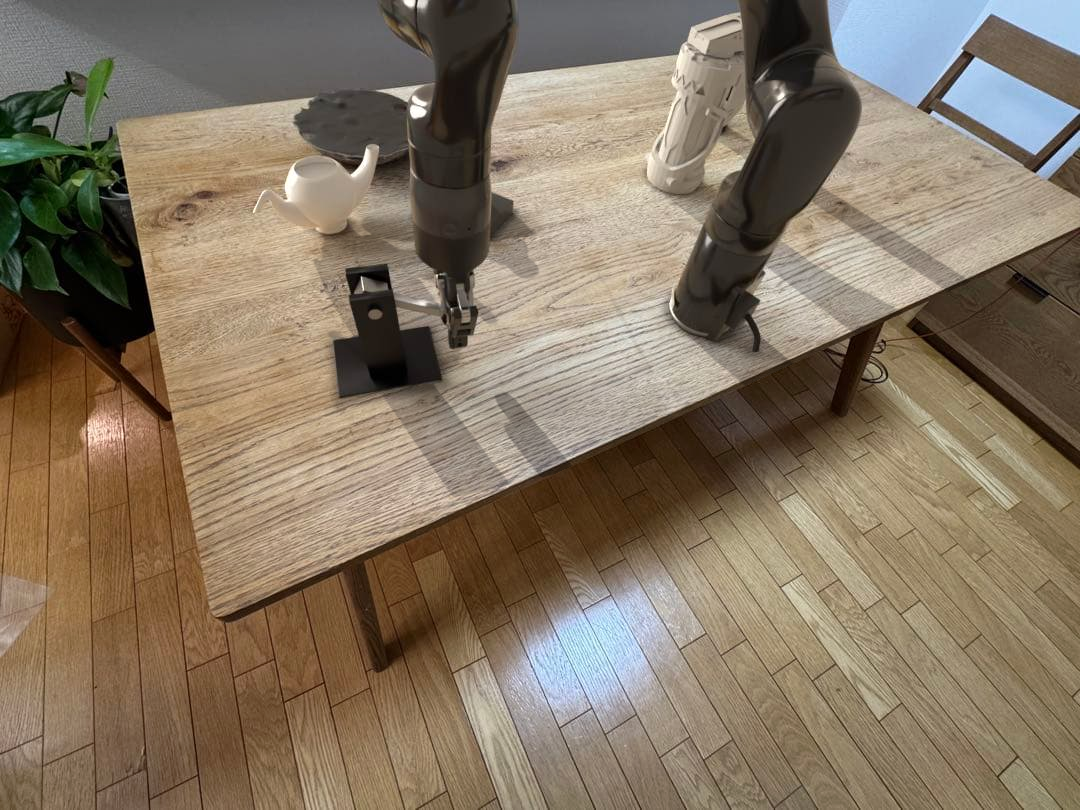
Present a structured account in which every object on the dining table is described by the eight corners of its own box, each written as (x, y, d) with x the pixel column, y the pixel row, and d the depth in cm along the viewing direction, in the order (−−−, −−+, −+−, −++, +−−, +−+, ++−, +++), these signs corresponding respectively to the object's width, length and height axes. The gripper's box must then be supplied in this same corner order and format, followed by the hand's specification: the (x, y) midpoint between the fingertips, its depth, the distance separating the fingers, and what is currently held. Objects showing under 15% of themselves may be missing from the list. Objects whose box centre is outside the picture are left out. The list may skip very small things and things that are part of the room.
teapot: (252, 233, 75) (226, 174, 68) (369, 187, 85) (359, 130, 77) (286, 268, 72) (264, 210, 64) (404, 216, 81) (397, 160, 74)
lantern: (664, 199, 91) (718, 37, 71) (634, 167, 96) (677, 7, 76) (721, 187, 95) (789, 31, 75) (690, 157, 100) (745, 3, 80)
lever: (459, 316, 64) (472, 295, 61) (465, 338, 62) (479, 317, 60) (351, 292, 56) (362, 267, 54) (354, 315, 54) (366, 291, 52)
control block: (512, 212, 85) (514, 190, 81) (482, 245, 79) (482, 223, 76) (450, 187, 87) (449, 165, 83) (416, 218, 81) (413, 195, 78)
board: (417, 112, 99) (414, 84, 95) (442, 177, 88) (440, 148, 84) (296, 119, 94) (287, 89, 89) (305, 190, 82) (296, 159, 78)
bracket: (429, 331, 68) (419, 247, 57) (442, 385, 64) (435, 304, 52) (334, 346, 65) (304, 259, 54) (340, 403, 61) (309, 321, 49)
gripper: (508, 255, 46) (498, 372, 61) (473, 167, 54) (471, 290, 68) (424, 263, 45) (434, 383, 59) (400, 170, 52) (414, 296, 66)
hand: (454, 332), depth 63 cm, fingers closed on lever, 3 cm apart
